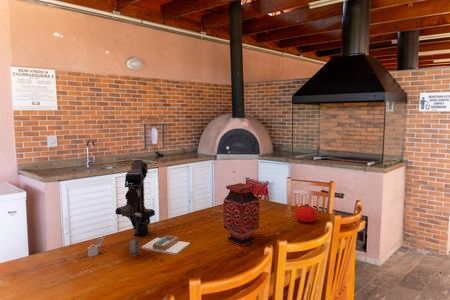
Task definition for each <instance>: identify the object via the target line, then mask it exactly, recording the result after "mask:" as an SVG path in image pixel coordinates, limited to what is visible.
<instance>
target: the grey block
mask: <svg viewBox="0 0 450 300" xmlns="http://www.w3.org/2000/svg"><path fill="white" fill-rule="evenodd" d="M138 255H140V239H135V238H133V239H131V240H130V241H129V256H133V257H137V256H138Z"/></svg>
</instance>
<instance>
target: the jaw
mask: <svg viewBox="0 0 450 300" xmlns="http://www.w3.org/2000/svg"><path fill="white" fill-rule="evenodd" d="M160 238H161V239H160V240H158V241H157V242H155V243H154V244H160V245H161V244H162V243H164V242H165V241H167V237H166V236H163V237H160Z"/></svg>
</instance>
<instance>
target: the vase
mask: <svg viewBox="0 0 450 300" xmlns="http://www.w3.org/2000/svg"><path fill="white" fill-rule="evenodd" d="M225 189H226V190H229V192H228V194H227V195H226V196H225V197H224V198H223V209H222V211H223V212H222V213H223V216H222V217H223V228H224V229H225V230H226V231H227V232H228V233H229V234H230V236H229V237H228V238H227V241H228V242H230V243H232V242H233V243H232V244H235V245H238V246H240V245H241V246H240V247H243V246H245V245H248V244H250V243H254V242H255V241H256V237H254V236H253V234H254V232H255V231H256V230H258V229H259V228H260V199H259V198H258V197H257V196H256V195H255V194H254V192H253V191H252V190H254V189H256V186H255V185H253V184H252V185H251V184H246V183H242V182H239V183H234V184H229V185H226V186H225Z"/></svg>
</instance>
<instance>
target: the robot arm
mask: <svg viewBox="0 0 450 300" xmlns="http://www.w3.org/2000/svg"><path fill="white" fill-rule="evenodd" d="M130 167H131V168H130V169H129V170H128V171H127V172H126V174H125V177H124V178H125V180H124V188H127V191H126V193H125V196H124V197H125V199H126V204H125V205H122V206H119V207H117V208H115V215H117V216H118V215H119V216H121V217H125V218H127V219H129V221H130V223H131V225H132V228H133V230H134V234H133V236H136V237H141V238H144V237H145V236H147V235H149V234H150V232H149V225H150V224H151V218H152V217H154V216H155V214H156V211H155V210H154V209H152V208H147V207H146V206H145V179H146V177H147V174H148V173H149V171H148V170H149V169H148V167H149V166H148V164H147V163H146V162H144V160H142V159H134V160H133V161H132V163H131V165H130Z"/></svg>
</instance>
